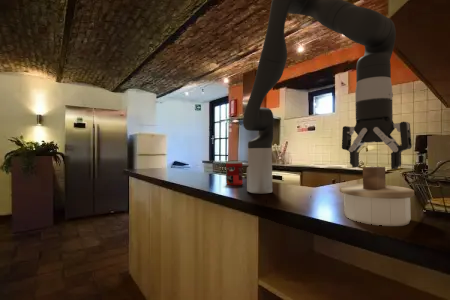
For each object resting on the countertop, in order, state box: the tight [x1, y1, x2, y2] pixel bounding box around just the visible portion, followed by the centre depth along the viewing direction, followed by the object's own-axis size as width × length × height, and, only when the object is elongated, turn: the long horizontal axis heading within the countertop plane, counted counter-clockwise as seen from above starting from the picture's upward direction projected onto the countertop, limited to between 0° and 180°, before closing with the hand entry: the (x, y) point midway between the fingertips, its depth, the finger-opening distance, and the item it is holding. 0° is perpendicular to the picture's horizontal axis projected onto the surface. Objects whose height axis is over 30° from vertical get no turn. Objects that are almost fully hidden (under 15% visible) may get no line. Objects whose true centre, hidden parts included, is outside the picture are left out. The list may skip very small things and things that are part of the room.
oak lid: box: [339, 165, 415, 199], centre depth 59 cm, size 15×15×6 cm
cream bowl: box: [343, 193, 412, 227], centre depth 59 cm, size 13×13×6 cm
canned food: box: [225, 161, 244, 186], centre depth 121 cm, size 8×8×11 cm
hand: (374, 168), depth 59 cm, fingers open, 8 cm apart
